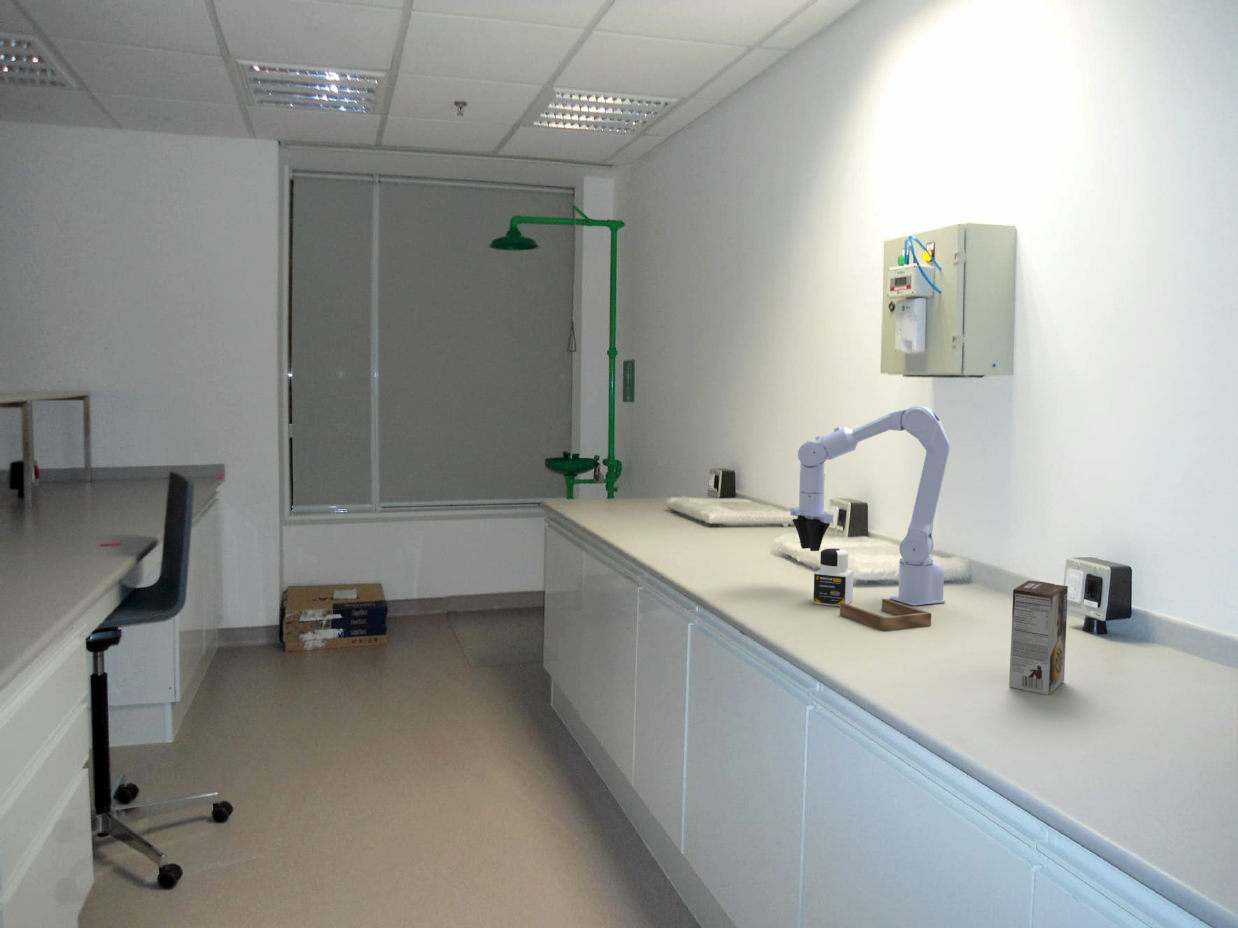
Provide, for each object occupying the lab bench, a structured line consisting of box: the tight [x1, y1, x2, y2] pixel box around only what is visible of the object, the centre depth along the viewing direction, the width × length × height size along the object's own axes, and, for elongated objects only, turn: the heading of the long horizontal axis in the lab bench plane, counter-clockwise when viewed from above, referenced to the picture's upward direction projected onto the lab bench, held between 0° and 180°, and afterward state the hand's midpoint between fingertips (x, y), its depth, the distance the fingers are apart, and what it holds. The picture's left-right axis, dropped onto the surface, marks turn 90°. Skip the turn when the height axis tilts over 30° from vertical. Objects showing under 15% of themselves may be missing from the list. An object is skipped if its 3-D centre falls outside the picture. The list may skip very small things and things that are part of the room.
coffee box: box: [1008, 580, 1069, 696], centre depth 150 cm, size 9×6×16 cm
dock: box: [839, 598, 932, 632], centre depth 192 cm, size 12×14×2 cm
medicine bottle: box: [813, 547, 854, 607], centre depth 208 cm, size 7×7×12 cm
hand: (810, 549), depth 219 cm, fingers open, 3 cm apart
